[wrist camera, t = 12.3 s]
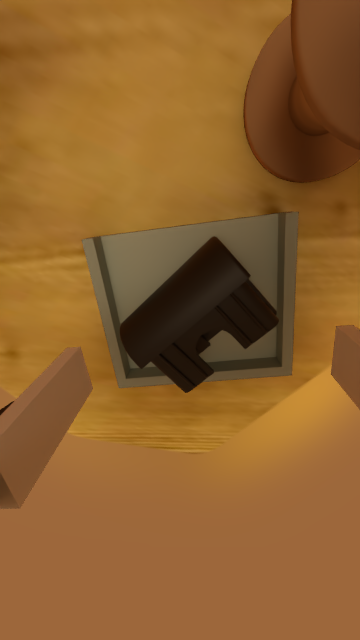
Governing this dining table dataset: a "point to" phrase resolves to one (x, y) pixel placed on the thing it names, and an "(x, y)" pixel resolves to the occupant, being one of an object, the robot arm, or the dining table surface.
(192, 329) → the end cap
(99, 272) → the olive grey tray
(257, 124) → the bobbin spool
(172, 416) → the dining table surface
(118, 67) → the dining table surface
